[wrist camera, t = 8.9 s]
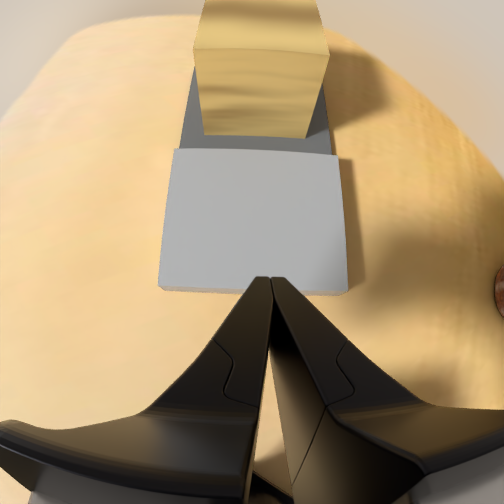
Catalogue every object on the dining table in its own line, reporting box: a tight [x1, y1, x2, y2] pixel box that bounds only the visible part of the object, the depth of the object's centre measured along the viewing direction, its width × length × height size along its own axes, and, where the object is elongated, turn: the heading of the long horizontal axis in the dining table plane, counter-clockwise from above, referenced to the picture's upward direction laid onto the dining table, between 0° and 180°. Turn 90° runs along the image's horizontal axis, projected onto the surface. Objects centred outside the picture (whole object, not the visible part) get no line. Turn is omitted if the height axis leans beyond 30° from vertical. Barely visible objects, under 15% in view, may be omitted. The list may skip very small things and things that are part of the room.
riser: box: [158, 148, 348, 296], centre depth 22 cm, size 10×12×2 cm
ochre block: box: [193, 0, 330, 139], centre depth 21 cm, size 8×8×9 cm
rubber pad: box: [179, 67, 332, 155], centre depth 26 cm, size 11×12×1 cm
